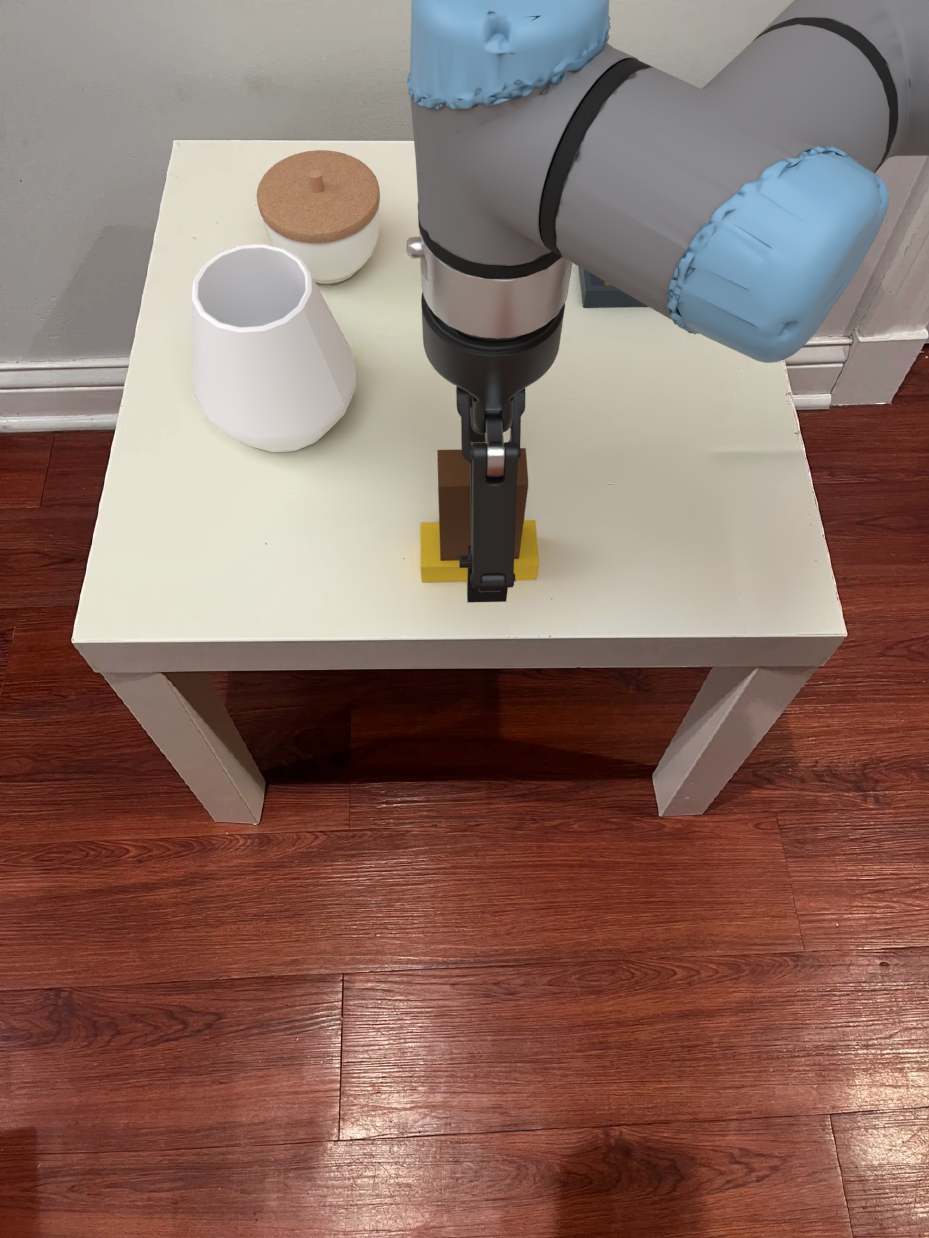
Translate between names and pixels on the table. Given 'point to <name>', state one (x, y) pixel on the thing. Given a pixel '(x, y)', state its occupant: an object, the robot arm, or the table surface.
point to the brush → (454, 524)
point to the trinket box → (322, 211)
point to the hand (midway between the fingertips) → (482, 514)
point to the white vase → (267, 350)
